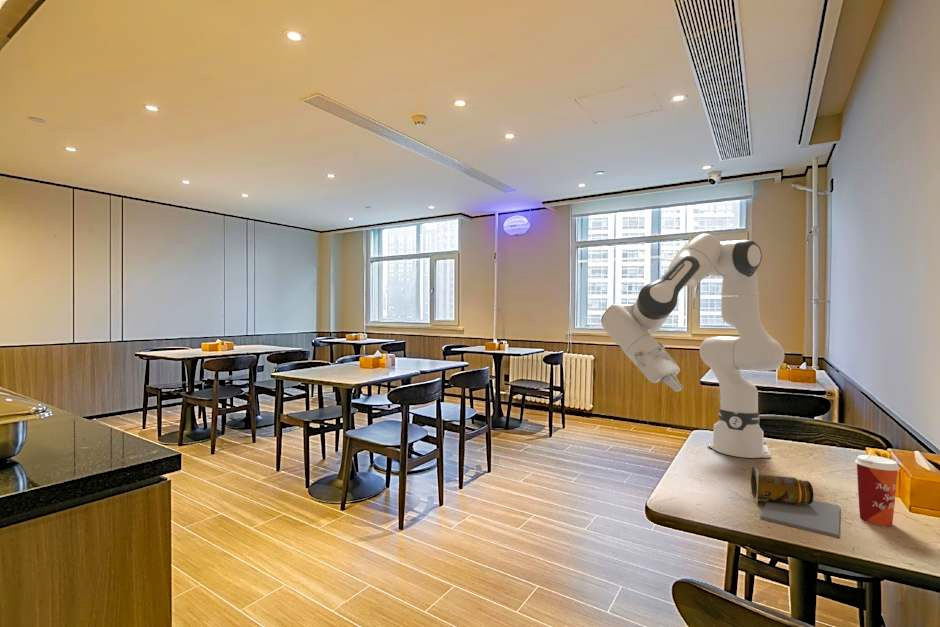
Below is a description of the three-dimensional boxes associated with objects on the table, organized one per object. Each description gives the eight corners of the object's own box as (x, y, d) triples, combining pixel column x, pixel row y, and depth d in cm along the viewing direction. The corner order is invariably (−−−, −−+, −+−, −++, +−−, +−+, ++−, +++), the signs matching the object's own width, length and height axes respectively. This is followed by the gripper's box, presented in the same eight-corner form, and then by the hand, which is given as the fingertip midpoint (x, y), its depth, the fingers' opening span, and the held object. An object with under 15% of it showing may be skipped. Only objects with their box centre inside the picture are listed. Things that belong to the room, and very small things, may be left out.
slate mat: (771, 493, 124) (771, 491, 124) (839, 508, 115) (839, 505, 115) (760, 518, 108) (760, 516, 108) (838, 537, 99) (838, 534, 99)
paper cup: (886, 531, 103) (887, 466, 103) (846, 517, 110) (847, 456, 110) (906, 525, 106) (907, 462, 106) (866, 512, 113) (867, 452, 113)
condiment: (756, 505, 116) (815, 512, 112) (757, 471, 115) (816, 477, 112) (749, 493, 123) (804, 499, 119) (750, 460, 122) (805, 466, 118)
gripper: (640, 345, 127) (679, 386, 121) (662, 343, 143) (697, 379, 137) (623, 361, 129) (660, 402, 124) (647, 357, 146) (680, 393, 140)
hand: (680, 390), depth 130 cm, fingers closed
